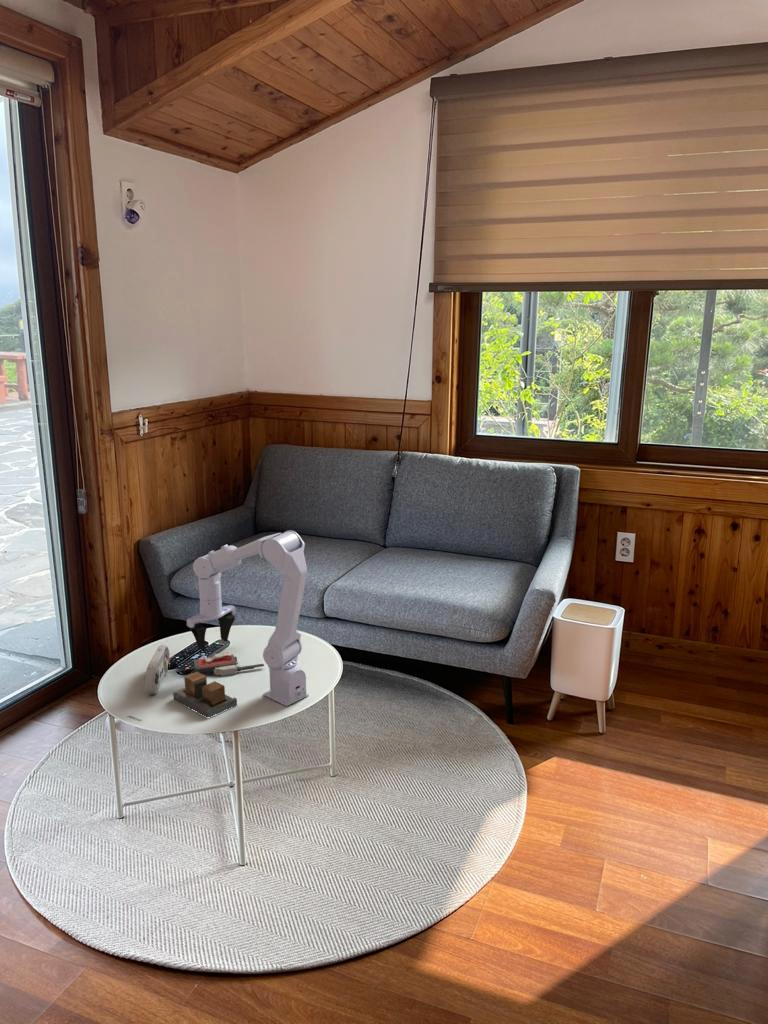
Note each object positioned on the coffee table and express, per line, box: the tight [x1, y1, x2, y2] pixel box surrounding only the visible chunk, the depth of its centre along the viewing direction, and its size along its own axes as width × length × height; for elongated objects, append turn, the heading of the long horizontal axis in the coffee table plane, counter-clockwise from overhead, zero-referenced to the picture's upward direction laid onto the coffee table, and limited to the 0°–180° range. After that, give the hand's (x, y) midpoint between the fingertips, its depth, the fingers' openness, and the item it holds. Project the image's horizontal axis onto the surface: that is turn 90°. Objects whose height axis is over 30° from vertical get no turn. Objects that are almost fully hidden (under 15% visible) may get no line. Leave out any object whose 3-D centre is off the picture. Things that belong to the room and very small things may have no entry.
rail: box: [172, 680, 238, 718], centre depth 199 cm, size 15×9×6 cm, turn 48°
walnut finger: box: [183, 672, 208, 699], centre depth 201 cm, size 5×4×6 cm
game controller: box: [144, 644, 171, 695], centre depth 210 cm, size 20×2×8 cm, turn 3°
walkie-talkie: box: [191, 652, 265, 677], centre depth 219 cm, size 9×4×20 cm
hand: (213, 644), depth 211 cm, fingers open, 7 cm apart
